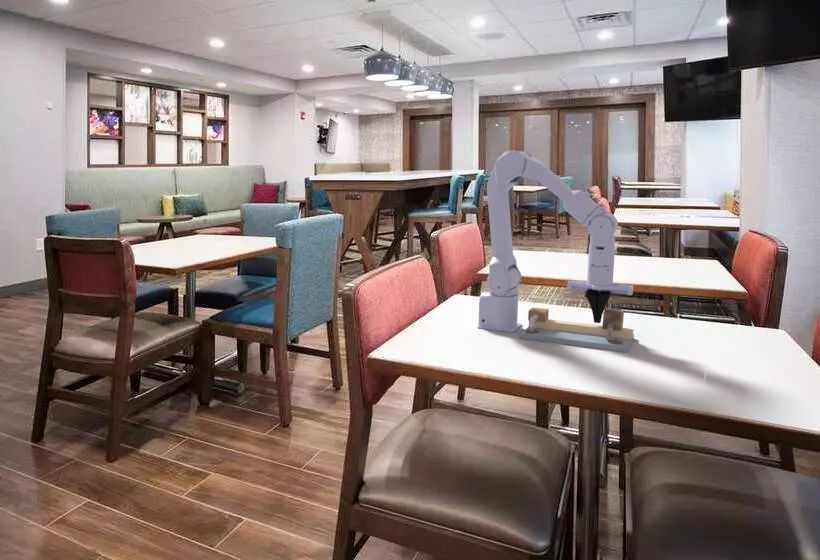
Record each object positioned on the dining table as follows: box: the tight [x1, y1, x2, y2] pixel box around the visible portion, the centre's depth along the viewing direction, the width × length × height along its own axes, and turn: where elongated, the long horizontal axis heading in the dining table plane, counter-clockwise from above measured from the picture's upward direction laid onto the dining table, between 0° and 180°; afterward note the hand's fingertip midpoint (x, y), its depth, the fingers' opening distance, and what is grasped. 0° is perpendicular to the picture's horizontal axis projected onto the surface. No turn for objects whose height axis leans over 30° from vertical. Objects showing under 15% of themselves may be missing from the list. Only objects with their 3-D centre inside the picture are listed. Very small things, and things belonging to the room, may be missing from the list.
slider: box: [602, 308, 625, 341], centre depth 132 cm, size 4×8×6 cm, turn 153°
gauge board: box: [520, 307, 635, 353], centre depth 135 cm, size 24×12×5 cm, turn 63°
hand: (597, 321), depth 135 cm, fingers closed
